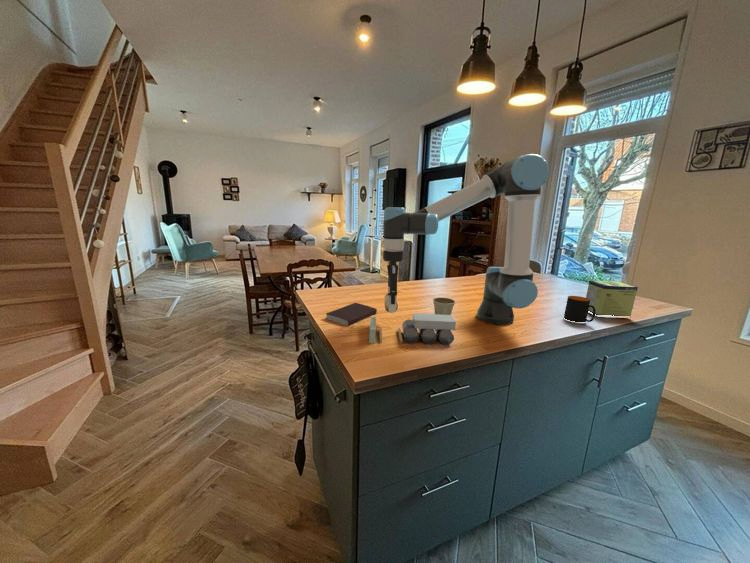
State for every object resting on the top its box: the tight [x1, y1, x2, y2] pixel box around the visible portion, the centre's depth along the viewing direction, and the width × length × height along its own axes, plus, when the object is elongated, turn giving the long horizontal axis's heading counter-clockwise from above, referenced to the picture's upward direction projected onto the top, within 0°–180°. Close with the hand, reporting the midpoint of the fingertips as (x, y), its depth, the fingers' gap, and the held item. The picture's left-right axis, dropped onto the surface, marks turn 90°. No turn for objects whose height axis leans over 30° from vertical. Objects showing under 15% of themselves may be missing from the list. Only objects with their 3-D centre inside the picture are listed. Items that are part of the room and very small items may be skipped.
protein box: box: [585, 280, 639, 317], centre depth 143 cm, size 10×16×16 cm
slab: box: [411, 313, 457, 331], centre depth 107 cm, size 14×7×3 cm, turn 90°
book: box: [325, 302, 377, 327], centre depth 128 cm, size 12×19×3 cm, turn 145°
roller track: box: [378, 319, 455, 346], centre depth 108 cm, size 25×11×5 cm, turn 90°
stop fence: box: [368, 316, 377, 344], centre depth 108 cm, size 2×12×5 cm, turn 0°
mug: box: [563, 295, 596, 323], centre depth 131 cm, size 8×12×10 cm
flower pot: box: [432, 296, 456, 316], centre depth 127 cm, size 9×9×9 cm
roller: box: [383, 293, 399, 314], centre depth 116 cm, size 10×5×5 cm, turn 0°
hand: (391, 307), depth 117 cm, fingers closed on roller, 10 cm apart
